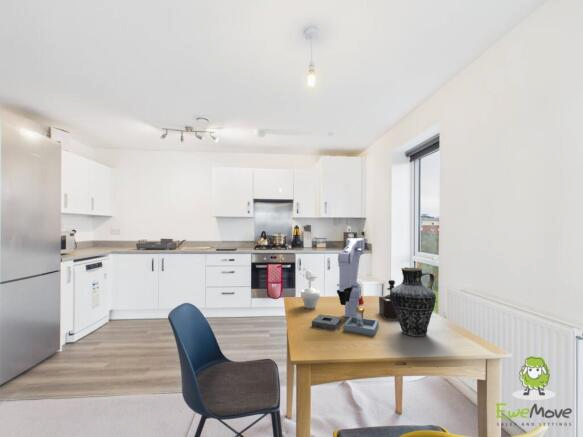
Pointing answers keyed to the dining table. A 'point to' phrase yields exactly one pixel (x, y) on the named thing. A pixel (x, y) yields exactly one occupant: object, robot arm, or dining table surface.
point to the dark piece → (387, 304)
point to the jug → (413, 301)
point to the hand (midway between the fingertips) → (344, 303)
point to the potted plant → (310, 292)
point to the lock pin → (359, 317)
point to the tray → (367, 329)
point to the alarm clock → (361, 300)
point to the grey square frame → (327, 322)
